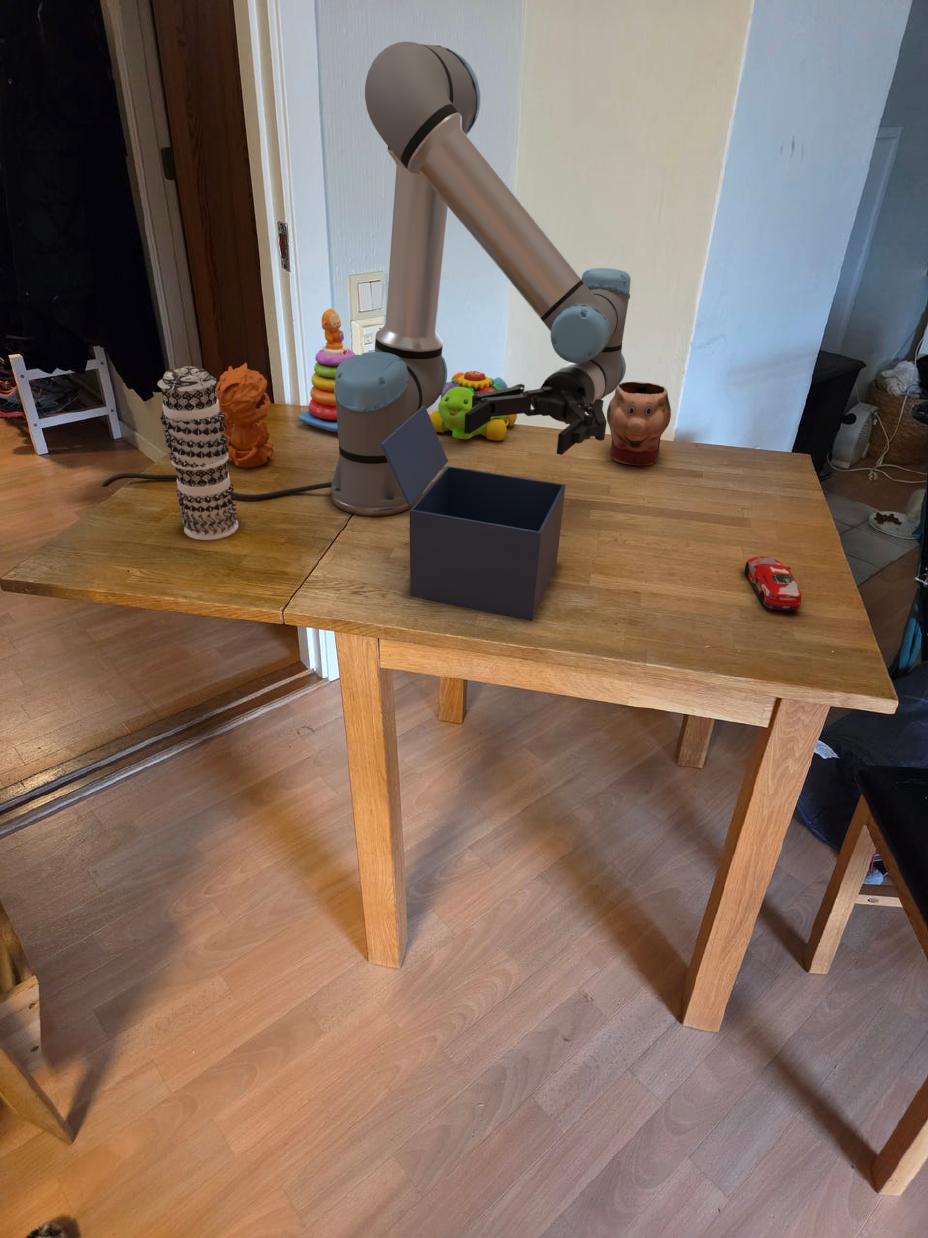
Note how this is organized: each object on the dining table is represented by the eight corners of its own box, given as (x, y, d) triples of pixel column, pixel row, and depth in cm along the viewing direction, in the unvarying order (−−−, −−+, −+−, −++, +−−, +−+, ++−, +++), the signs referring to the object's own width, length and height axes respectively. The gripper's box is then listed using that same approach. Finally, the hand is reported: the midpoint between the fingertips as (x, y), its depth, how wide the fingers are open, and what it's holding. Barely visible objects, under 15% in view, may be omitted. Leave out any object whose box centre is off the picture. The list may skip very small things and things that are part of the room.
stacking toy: (343, 440, 158) (336, 320, 144) (294, 427, 163) (283, 310, 150) (382, 421, 167) (379, 307, 154) (335, 409, 172) (328, 298, 159)
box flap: (410, 505, 102) (407, 505, 102) (448, 461, 115) (446, 462, 115) (382, 443, 99) (380, 444, 99) (425, 405, 111) (422, 406, 111)
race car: (740, 566, 120) (746, 544, 118) (775, 568, 120) (782, 545, 118) (763, 613, 109) (770, 589, 107) (802, 616, 109) (810, 591, 107)
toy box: (410, 596, 110) (409, 510, 103) (445, 545, 123) (447, 465, 115) (532, 620, 106) (540, 533, 98) (556, 565, 119) (565, 484, 111)
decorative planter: (599, 434, 165) (608, 368, 157) (658, 438, 164) (669, 372, 156) (603, 472, 149) (613, 400, 141) (668, 476, 148) (682, 404, 140)
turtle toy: (412, 446, 156) (411, 388, 149) (447, 409, 175) (448, 356, 168) (493, 458, 152) (497, 399, 146) (521, 419, 171) (525, 365, 164)
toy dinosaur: (293, 459, 149) (283, 363, 139) (251, 477, 141) (238, 378, 131) (250, 445, 154) (239, 352, 144) (208, 463, 146) (192, 366, 136)
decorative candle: (186, 545, 120) (155, 384, 106) (177, 520, 127) (147, 365, 113) (246, 535, 123) (224, 377, 109) (234, 511, 130) (212, 359, 116)
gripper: (647, 430, 116) (598, 481, 100) (497, 400, 125) (430, 442, 110) (655, 380, 112) (605, 424, 96) (499, 352, 121) (431, 389, 105)
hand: (512, 434), depth 103 cm, fingers open, 13 cm apart
